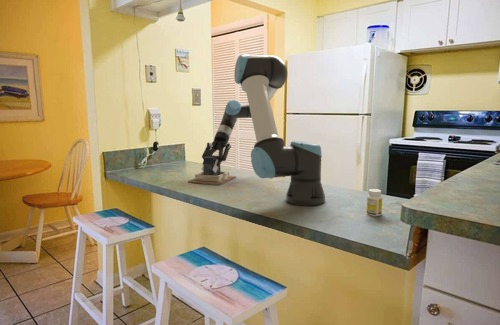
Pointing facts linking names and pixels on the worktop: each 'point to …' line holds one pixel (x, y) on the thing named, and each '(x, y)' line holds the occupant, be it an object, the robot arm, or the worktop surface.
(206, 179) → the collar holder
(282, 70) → the robot arm
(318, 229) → the worktop surface
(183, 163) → the worktop surface
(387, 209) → the worktop surface
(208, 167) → the box
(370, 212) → the supplement bottle
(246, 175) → the worktop surface
